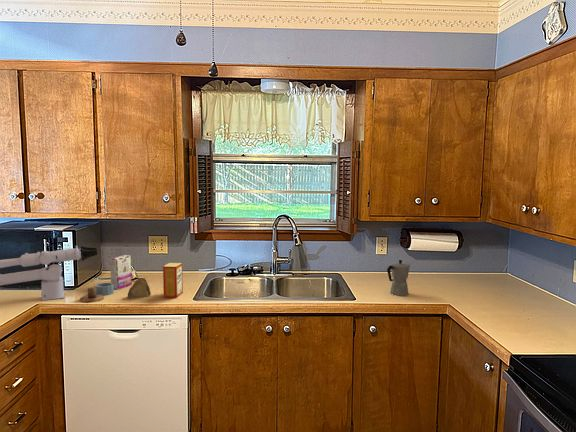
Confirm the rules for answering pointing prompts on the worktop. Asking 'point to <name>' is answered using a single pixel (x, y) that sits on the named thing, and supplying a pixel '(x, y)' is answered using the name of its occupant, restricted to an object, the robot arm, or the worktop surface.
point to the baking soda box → (172, 280)
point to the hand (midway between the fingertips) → (96, 251)
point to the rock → (139, 289)
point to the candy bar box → (121, 271)
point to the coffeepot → (399, 278)
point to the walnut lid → (91, 296)
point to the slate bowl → (104, 288)
